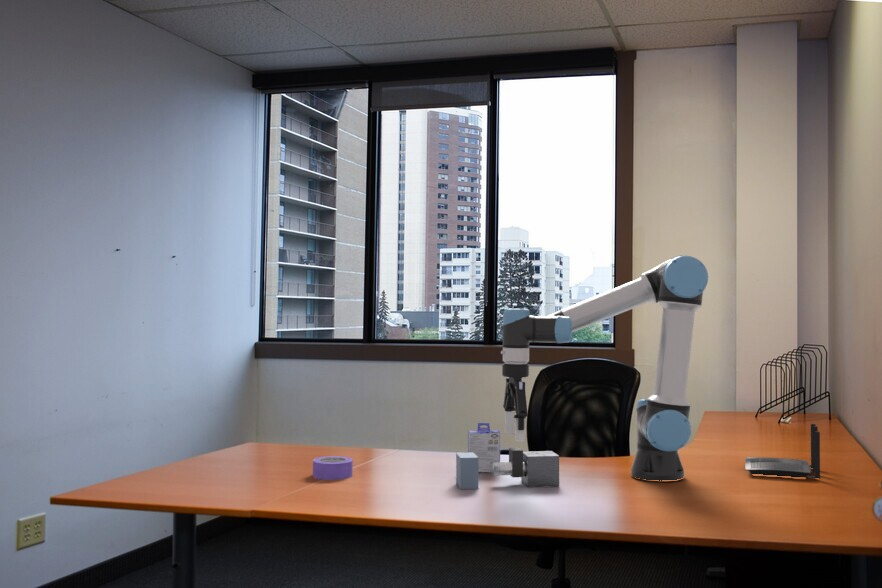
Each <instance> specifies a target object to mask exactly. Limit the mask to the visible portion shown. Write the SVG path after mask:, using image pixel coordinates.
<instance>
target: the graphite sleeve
mask: <svg viewBox="0 0 882 588" xmlns="http://www.w3.org/2000/svg"><path fill="white" fill-rule="evenodd" d="M523 462H526V475H523V477H520V479H521V483H522V484H524V485H525V486H526V488H547V487H551V488H552V487H560V455H559V454H557V453H556V452H554V451H553V450H540V451H539V450H538V451H536V450H535V451H532V450H531V451H523Z"/></svg>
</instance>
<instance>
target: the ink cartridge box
mask: <svg viewBox="0 0 882 588" xmlns="http://www.w3.org/2000/svg"><path fill="white" fill-rule="evenodd" d="M481 426H486V427H481ZM472 452H474V453H475V455H476V456H477V457H478V473H493V472H492V464H493V463H497V462H501V433H500V430H497V429H496V430H491V428H490V423H489V422H479V423H477V430H469V431H468V430H467V453H472Z"/></svg>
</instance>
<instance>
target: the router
mask: <svg viewBox="0 0 882 588" xmlns="http://www.w3.org/2000/svg"><path fill="white" fill-rule="evenodd" d="M820 436H821V433H820V431H818V426H817V425H816V423H810V463H809V462H808V460H806V459H805V460H804V459H798V458H797V459H796V458H783V457H764V456H763V457H759V456H758V457H757V456H756V457H749V456H747V457H745V460H744V461H745V462H744V463H745V464H744V466H745V468H744V470H745V471H749V474H750V475H751V474H763V475H777V476H791V477H806V478H807V477H809V478H807V479H814V478H820V479H821V442H820V441H821V439H820V438H821V437H820ZM810 467H811V468H813V469H811V468H810ZM811 473H812V475H811ZM813 474H814V475H813Z"/></svg>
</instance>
